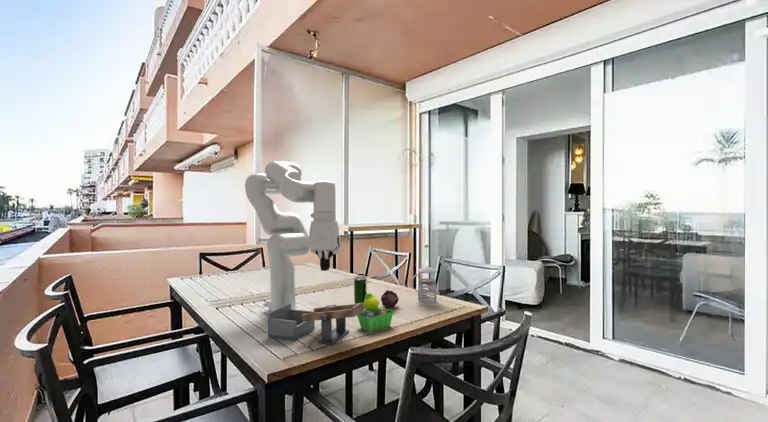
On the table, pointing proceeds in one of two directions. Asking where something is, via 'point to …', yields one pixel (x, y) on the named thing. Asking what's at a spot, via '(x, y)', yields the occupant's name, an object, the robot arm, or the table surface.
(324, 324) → the lever stand
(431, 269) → the french press
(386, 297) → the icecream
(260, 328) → the table surface
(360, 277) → the beer can
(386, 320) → the fruit basket
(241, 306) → the table surface
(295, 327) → the bin
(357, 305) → the lever
